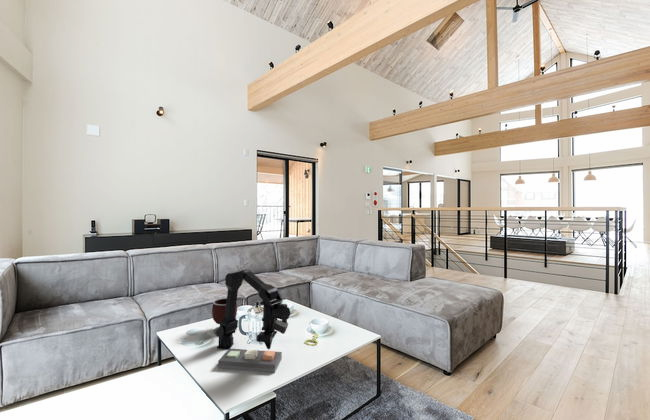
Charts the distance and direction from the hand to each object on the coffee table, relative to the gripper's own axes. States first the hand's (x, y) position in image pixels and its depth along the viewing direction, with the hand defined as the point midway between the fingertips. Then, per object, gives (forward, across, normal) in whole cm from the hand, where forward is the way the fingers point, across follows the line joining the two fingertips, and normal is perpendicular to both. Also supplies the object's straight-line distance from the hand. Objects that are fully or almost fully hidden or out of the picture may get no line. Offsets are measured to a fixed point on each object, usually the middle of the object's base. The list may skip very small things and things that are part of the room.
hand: (268, 348), depth 142 cm
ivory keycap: (+4, 0, +8) cm, 10 cm away
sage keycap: (+6, 0, +17) cm, 18 cm away
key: (+8, +28, -17) cm, 34 cm away
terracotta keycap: (+4, 0, 0) cm, 4 cm away
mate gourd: (+8, +35, +36) cm, 51 cm away
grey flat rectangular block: (+8, 0, +8) cm, 11 cm away
